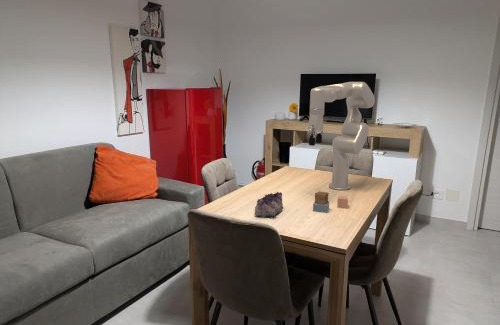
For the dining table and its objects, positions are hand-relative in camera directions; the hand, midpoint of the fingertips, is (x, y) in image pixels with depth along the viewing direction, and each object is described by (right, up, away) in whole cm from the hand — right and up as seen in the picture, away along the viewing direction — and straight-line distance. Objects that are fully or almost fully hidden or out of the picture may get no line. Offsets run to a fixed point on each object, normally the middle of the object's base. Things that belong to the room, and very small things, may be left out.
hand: (315, 144), depth 191 cm
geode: (-25, -35, -15) cm, 46 cm away
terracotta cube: (+13, -33, -7) cm, 36 cm away
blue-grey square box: (+1, -34, -12) cm, 36 cm away
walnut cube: (+1, -30, -13) cm, 33 cm away
